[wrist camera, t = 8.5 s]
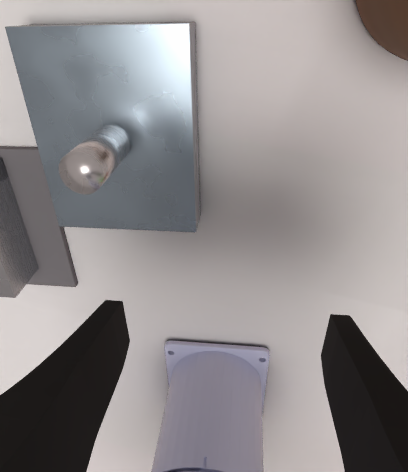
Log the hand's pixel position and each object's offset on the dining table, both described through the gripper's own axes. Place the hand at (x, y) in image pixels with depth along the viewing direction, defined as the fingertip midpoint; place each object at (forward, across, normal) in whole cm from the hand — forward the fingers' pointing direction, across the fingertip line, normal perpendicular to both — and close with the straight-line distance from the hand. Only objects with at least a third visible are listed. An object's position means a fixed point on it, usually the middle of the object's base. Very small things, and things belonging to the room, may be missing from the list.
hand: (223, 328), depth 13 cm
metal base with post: (+10, +6, -4) cm, 12 cm away
